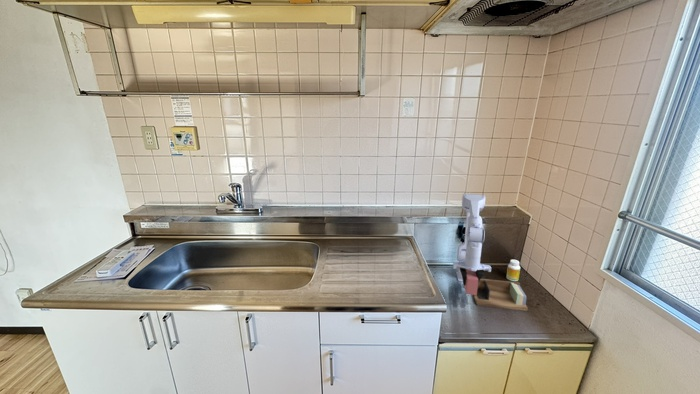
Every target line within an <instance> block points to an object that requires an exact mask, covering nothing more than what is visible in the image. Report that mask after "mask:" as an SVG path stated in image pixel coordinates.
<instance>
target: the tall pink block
mask: <svg viewBox="0 0 700 394" xmlns="http://www.w3.org/2000/svg"><path fill="white" fill-rule="evenodd" d="M466 272H467V276H466V284H465V285H463V288H464V291H465V293H466V295H470V296H474V295H477V288H478V278H477V275H476V273H475V272H476V271H471V270H469V269H466Z"/></svg>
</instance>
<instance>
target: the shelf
mask: <svg viewBox="0 0 700 394" xmlns="http://www.w3.org/2000/svg"><path fill="white" fill-rule="evenodd" d="M485 280H486V282H487V284H488V287H489V289H490V295H489V300H483V299H478V296H477V295H473V299H474V300H475V303H476V306H479V307H480V306H481V307H490V308H498V309H500V308H501V309H507V310H517V311H527V312H528V311H529V308H528V306H527V303H526V304H525V305H517V304H516V303H515V302H514V300H513V298H512V296H511V294H510V293H509V291H510V284H511V283H514V284H517V285H520V286H521V282H519V281H511V280H498V279H489V278H488V279H487V278H481V279H480V281H479V283H478V289H484V282H485Z"/></svg>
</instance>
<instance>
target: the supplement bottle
mask: <svg viewBox="0 0 700 394" xmlns="http://www.w3.org/2000/svg"><path fill="white" fill-rule="evenodd" d="M520 271H521V266H520V261H519V260H517V259H510V261H509V263H508V265H507V269H506V279H507V280H508V281H510V282H519V280H520V279H519V278H520V273H521V272H520Z"/></svg>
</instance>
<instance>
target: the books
mask: <svg viewBox="0 0 700 394" xmlns="http://www.w3.org/2000/svg"><path fill="white" fill-rule="evenodd" d="M509 293H510V294H511V296H512V298H513V300H514V302H515V303H516V304H517V305H525V304H526V305H527V295H526V293H525V292H524V290H523V289H522V287H521V284H520V285H517V284H514V283H511V284H510V291H509Z"/></svg>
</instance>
